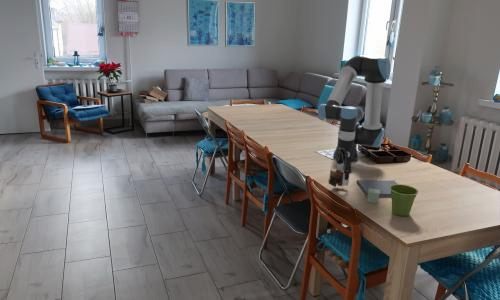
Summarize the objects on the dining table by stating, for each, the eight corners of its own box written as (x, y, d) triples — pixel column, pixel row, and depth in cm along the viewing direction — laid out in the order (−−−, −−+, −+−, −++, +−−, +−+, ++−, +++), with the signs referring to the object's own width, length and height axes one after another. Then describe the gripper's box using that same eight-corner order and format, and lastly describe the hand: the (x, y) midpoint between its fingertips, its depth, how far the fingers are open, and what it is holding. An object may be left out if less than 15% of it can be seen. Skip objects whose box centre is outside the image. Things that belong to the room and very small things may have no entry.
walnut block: (329, 178, 217) (330, 169, 215) (337, 177, 218) (338, 168, 217) (334, 181, 212) (335, 172, 211) (342, 180, 214) (343, 172, 212)
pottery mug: (324, 182, 206) (332, 167, 206) (340, 190, 207) (347, 176, 207) (332, 185, 194) (340, 169, 194) (349, 193, 195) (356, 178, 195)
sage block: (367, 197, 193) (368, 188, 192) (378, 199, 192) (379, 189, 190) (367, 201, 188) (368, 192, 187) (378, 203, 187) (379, 193, 186)
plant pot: (385, 205, 185) (389, 182, 182) (413, 209, 182) (417, 186, 179) (386, 216, 174) (390, 192, 171) (415, 220, 171) (419, 196, 168)
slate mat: (356, 182, 212) (356, 179, 212) (393, 183, 213) (394, 180, 212) (367, 196, 195) (367, 193, 194) (407, 197, 196) (408, 194, 195)
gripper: (332, 132, 206) (328, 171, 212) (345, 145, 183) (340, 190, 189) (347, 132, 206) (343, 172, 213) (361, 146, 183) (356, 190, 189)
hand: (341, 180), depth 201 cm, fingers closed on pottery mug, 12 cm apart
